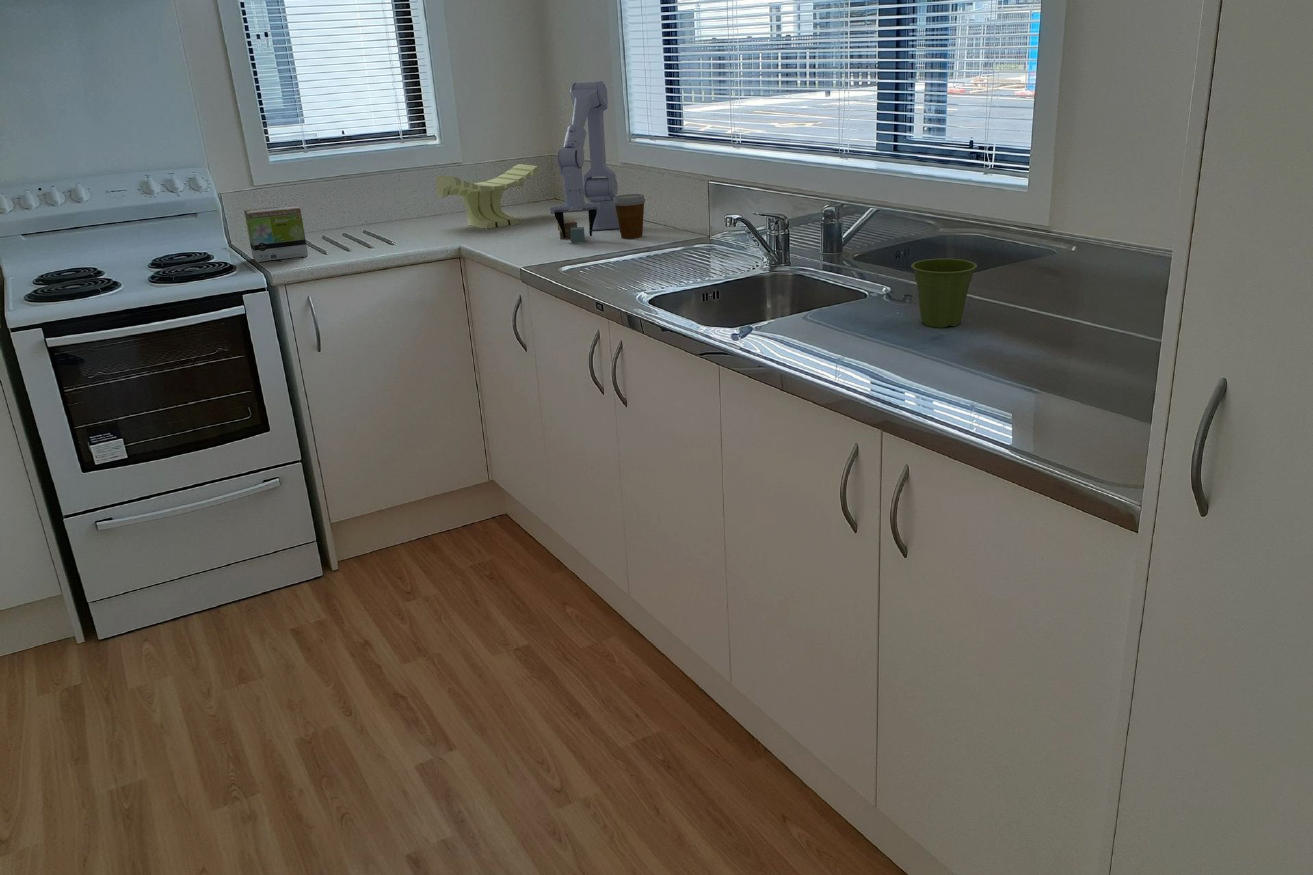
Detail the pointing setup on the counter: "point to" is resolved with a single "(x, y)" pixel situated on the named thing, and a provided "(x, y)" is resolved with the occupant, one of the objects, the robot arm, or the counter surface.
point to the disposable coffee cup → (630, 215)
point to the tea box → (276, 233)
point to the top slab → (568, 225)
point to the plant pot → (942, 290)
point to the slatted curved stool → (485, 195)
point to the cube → (577, 235)
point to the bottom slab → (568, 235)
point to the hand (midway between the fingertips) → (577, 236)
